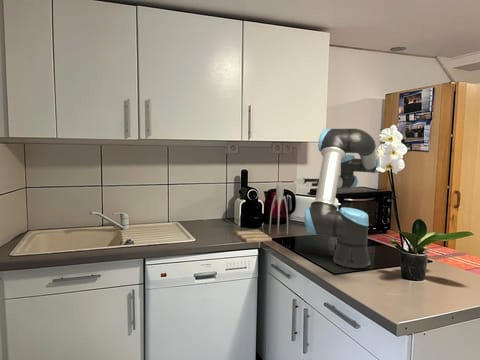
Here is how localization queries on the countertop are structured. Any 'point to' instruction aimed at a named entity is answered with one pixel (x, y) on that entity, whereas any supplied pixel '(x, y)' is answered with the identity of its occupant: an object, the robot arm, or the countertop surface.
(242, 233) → the trivet
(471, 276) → the countertop surface
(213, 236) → the countertop surface
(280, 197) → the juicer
